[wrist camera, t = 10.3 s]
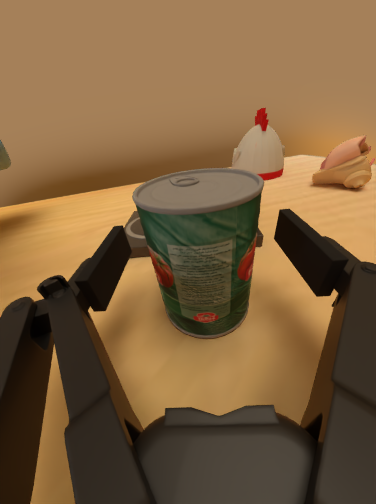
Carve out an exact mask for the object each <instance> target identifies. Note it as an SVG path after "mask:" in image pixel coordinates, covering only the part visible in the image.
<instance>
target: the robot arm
mask: <svg viewBox="0 0 376 504" xmlns="http://www.w3.org/2000/svg"><path fill="white" fill-rule="evenodd" d="M10 165H11V162H10V158H9V156H8V154H7V152H6V150H5V148H4V146H3V144H2V142H1V140H0V170H3V169H7V168H8V167H9V166H10ZM274 239H275V241H276V242H277V243H278V245H279V246H280V248H281V249H282V250H283V252H284V253H285V254H286V256H287V257H288V258H289V260H290V261H291V262H292V264H293V265H294V266H295V268H296V269H297V271H298V272H299V273H300V275H301V276H302V277H303V279H304V280H305V281H306V283H307V284H308V285H309V287H310V288H311V290H312V291H313V292H314V294H315V295H316V296H317V297H319V296H330V295H331V293H332V291H333V289H335V290H336V291H337V292H338V295H337V297H336V299H335V301H334V303H333V304H332V307H334V308H333V312H332V316H331V319H330V323H329V327H328V331H327V335H326V338H325V342H324V346H323V350H322V354H321V358H320V361H319V365H318V369H317V373H316V377H315V380H314V384H313V388H312V392H311V396H310V400H309V403H308V406H307V409H306V411H305V413H304V415H303V418H302V421H301V424H300V425H299V424H297V423H296V422H294V421H293V420H291V419H289V418H288V417H286V416H284V415H281V414H279V413H276V412H275V409H274V405H256V406H244V407H242V408H239V409H237V410H234V411H232V412H229V413H227V414H224V415H221V416H217V415H214V414H210V413H207V412H204V411H201V410H198V409H195V408H192V407H186V408H165V415H164V416H162V417H160V418H158V419H156V420H155V421H153V422H152V423H151V424H149V425H148V426H147V427H146V428H145V429H144V430H143V428H142V426H141V424H140V422H139V420H138V419H137V417H136V415H135V414H134V412H133V410H132V408H131V406H130V403H129V401H128V399H127V397H126V394H125V392H124V390H123V388H122V385H121V383H120V381H119V379H118V376H117V374H116V372H115V370H114V368H113V365H112V363H111V361H110V359H109V356H108V354H107V352H106V350H105V347H104V345H103V343H102V341H101V338H100V336H99V334H98V332H97V329H96V327H95V325H94V323H93V320H92V318H91V316H90V314H89V312H88V309H89V308H90V306H91V308H92V309H93V311H94V312H96V311H106V309H107V307H108V304H109V302H110V300H111V298H112V295H113V293H114V291H115V289H116V286H117V284H118V282H119V280H120V277H121V275H122V273H123V271H124V268H125V266H126V264H127V262H128V259H129V257H130V255H131V253H132V250H131V247H130V245H129V242H128V239H127V236H126V233H125V231H124V228H123V226H114V227H113V229H112V230H111V231H110V233H109V234H108V235H107V237H106V238H105V240H104V241H103V242H102V244H101V245H100V246H99V248H98V249H97V251H96V252H95V253H94V255H93V256H92V257H91V258H88V259H86V260H85V261H84V262H83V263H82V264H81V265H80V266H79V268H78V269H77V270H76V273H74V274H73V276H72V277H71V278H70V279H69V281H68V282H67V281H66V280H65V278H64V277H63V276H61V275H57V276H53V277H50V278H48V279H46V280H44V281H43V282H42V283H40V285H39V286H38V288H37V291H38V292H39V293H40V294H41V295H42V296H43V297H44V299H42V300H39V301H35V302H34V301H33V300H32V299H31V298H30V297H23V298H20V299H18V300H15V301H14V302H12V303H11V304H10V305H8V306H7V307H6V308H5V310H4V311H3V313H2V316H1V318H0V504H30V502H31V496H32V491H33V486H34V479H35V472H36V465H37V458H38V451H39V444H40V437H41V430H42V423H43V417H44V410H45V403H46V396H47V389H48V382H49V375H50V368H51V361H52V354H53V347H54V344H55V349H56V354H57V359H58V364H59V369H60V374H61V379H62V384H63V389H64V394H65V399H66V404H67V409H68V414H69V424H68V426H67V427H66V428H65V433H64V435H65V444H66V450H67V456H68V462H69V468H70V474H71V480H72V486H73V492H74V498H75V504H376V264H373V263H370V262H361V261H360V260H358V259H357V258H356V257H355V256H353V255H352V254H351V253H350V252H348V251H347V250H346V249H345V248H343V247H342V246H340V244H338V243H337V242H336V241H335V240H333V239H331V238H329V237H326V236H324V237H322V236H321V235H320V234H319V233H317V232H316V231H315V230H314V229H313V228H311V227H310V226H309V225H308V224H307V223H306V222H304V221H303V220H302V219H301V218H300V217H299V216H297V215H296V214H295V213H294V212H293V211H291V210H290V209H282V210H280V211H279V216H278V221H277V226H276V231H275V236H274Z"/></svg>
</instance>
